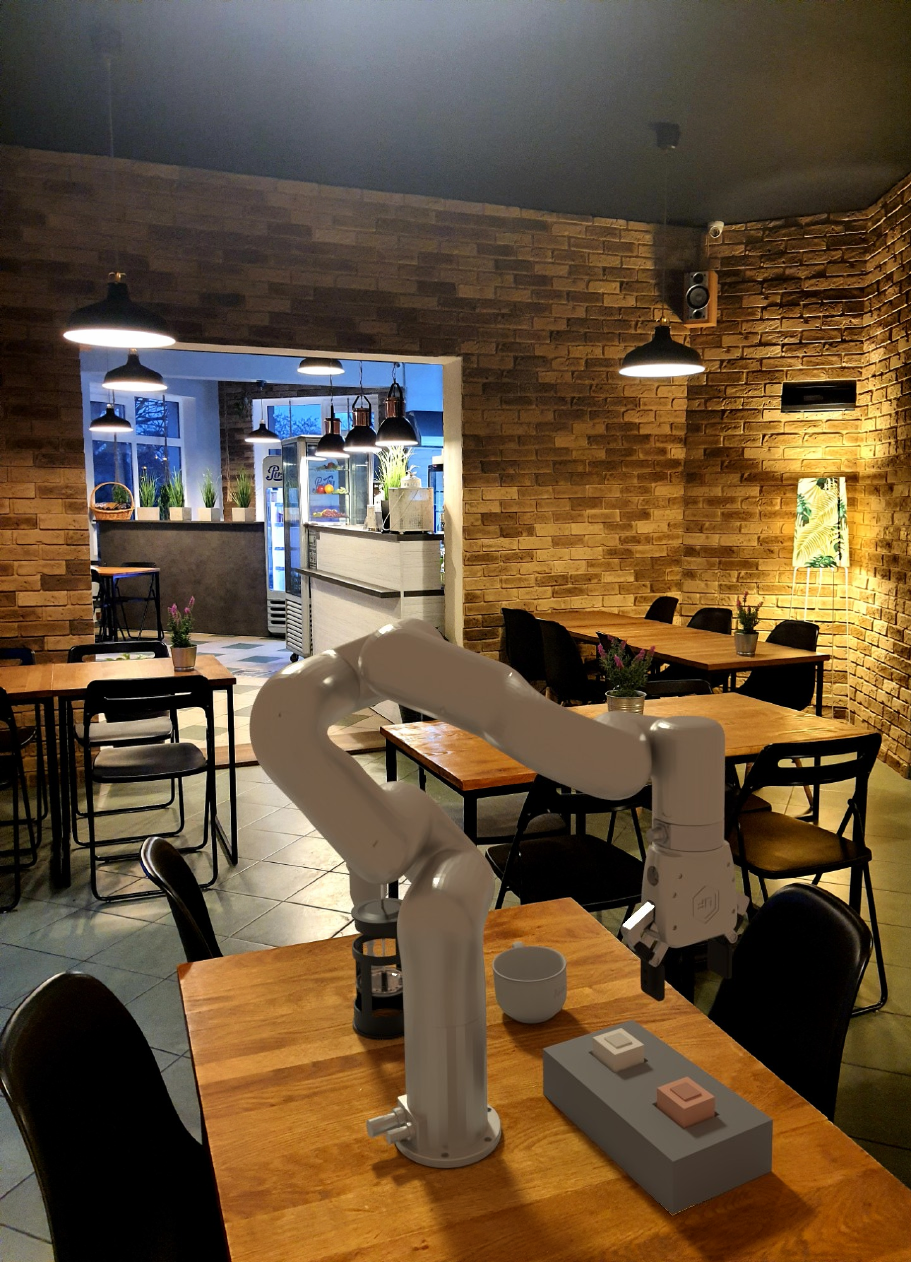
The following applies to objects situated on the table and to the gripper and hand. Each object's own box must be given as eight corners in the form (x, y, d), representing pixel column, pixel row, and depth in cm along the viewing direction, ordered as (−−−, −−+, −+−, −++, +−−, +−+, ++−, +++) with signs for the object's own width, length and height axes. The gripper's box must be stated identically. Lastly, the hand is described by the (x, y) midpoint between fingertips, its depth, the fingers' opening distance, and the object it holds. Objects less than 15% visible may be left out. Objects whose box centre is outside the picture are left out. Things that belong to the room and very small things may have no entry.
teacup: (570, 1032, 131) (570, 977, 130) (493, 1032, 131) (492, 978, 131) (561, 984, 145) (561, 934, 144) (491, 984, 145) (490, 935, 144)
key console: (672, 1216, 96) (672, 1161, 95) (543, 1093, 117) (542, 1048, 116) (771, 1170, 102) (772, 1119, 102) (632, 1062, 123) (632, 1019, 123)
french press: (335, 1028, 133) (330, 872, 131) (373, 999, 141) (369, 851, 139) (404, 1050, 127) (401, 887, 125) (440, 1018, 135) (437, 864, 133)
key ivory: (614, 1078, 111) (614, 1052, 111) (592, 1060, 115) (592, 1035, 115) (643, 1068, 113) (644, 1043, 113) (621, 1050, 117) (621, 1026, 117)
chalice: (367, 957, 155) (364, 852, 153) (401, 967, 152) (398, 859, 150) (339, 976, 149) (336, 866, 147) (374, 986, 145) (371, 874, 143)
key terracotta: (683, 1134, 101) (683, 1106, 100) (656, 1112, 105) (656, 1085, 104) (714, 1122, 103) (714, 1094, 103) (686, 1101, 107) (687, 1074, 106)
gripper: (647, 857, 93) (647, 1020, 95) (772, 828, 101) (770, 979, 103) (601, 836, 100) (601, 989, 102) (722, 810, 108) (721, 953, 110)
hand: (686, 984), depth 102 cm, fingers open, 9 cm apart
